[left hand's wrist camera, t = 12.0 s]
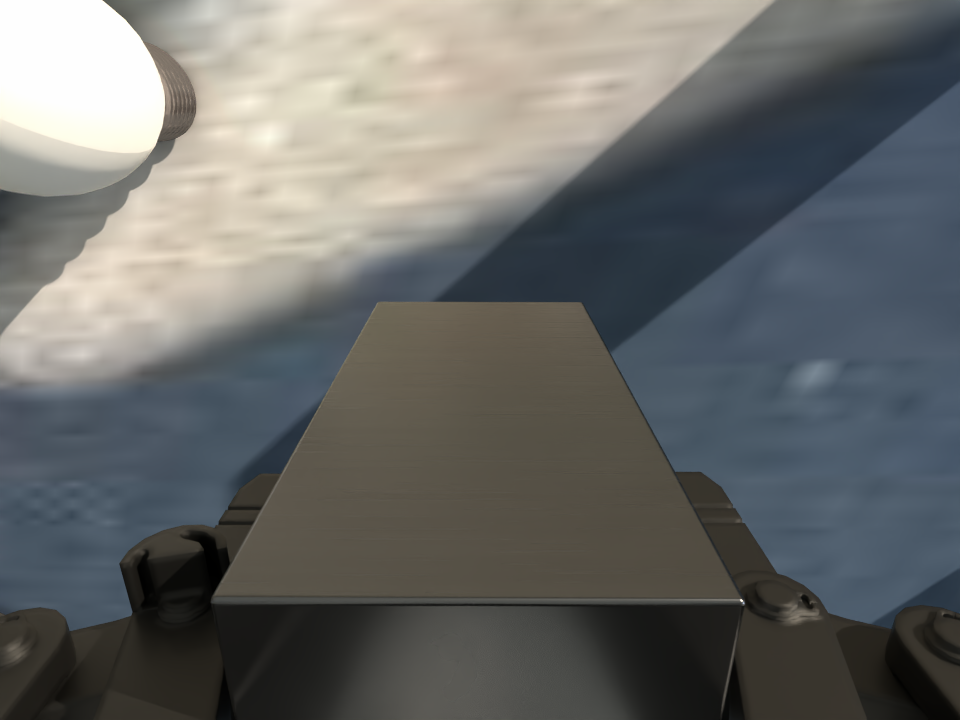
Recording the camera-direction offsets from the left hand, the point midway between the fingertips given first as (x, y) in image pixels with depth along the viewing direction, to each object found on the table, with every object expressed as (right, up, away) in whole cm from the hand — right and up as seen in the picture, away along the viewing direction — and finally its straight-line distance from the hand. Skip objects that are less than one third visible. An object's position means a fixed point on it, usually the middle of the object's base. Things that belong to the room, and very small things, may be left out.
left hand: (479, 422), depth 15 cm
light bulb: (-14, +13, +11) cm, 22 cm away
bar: (0, -9, +4) cm, 10 cm away
